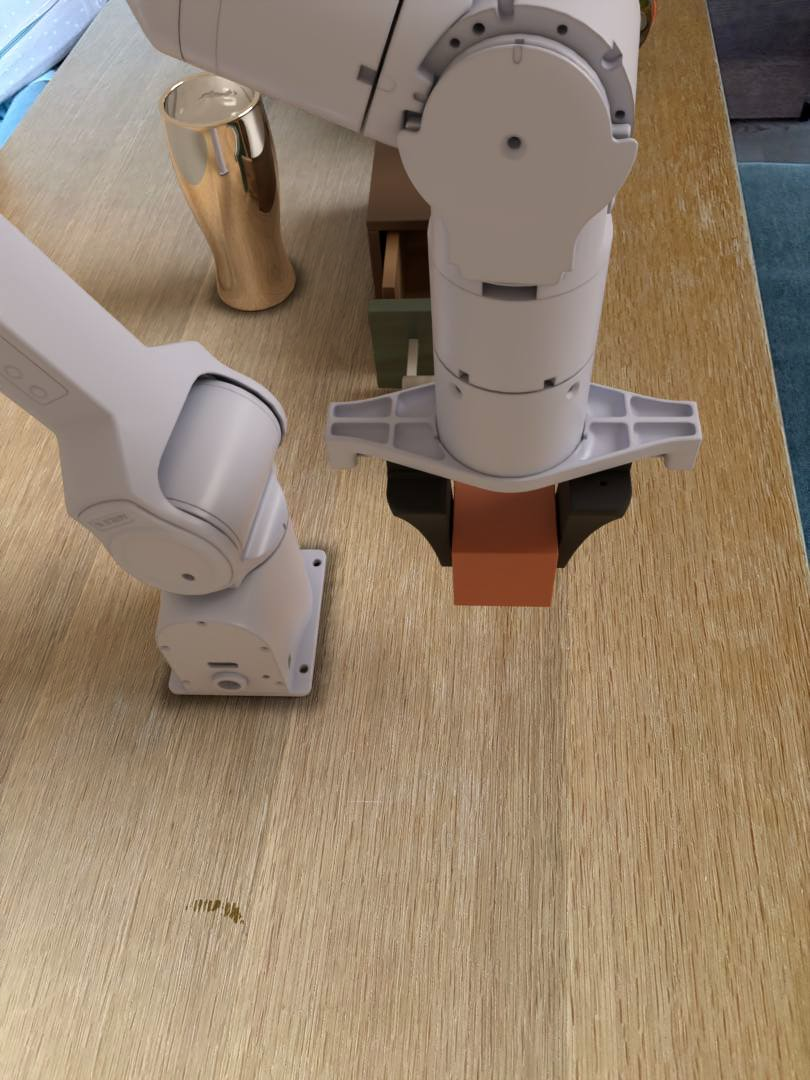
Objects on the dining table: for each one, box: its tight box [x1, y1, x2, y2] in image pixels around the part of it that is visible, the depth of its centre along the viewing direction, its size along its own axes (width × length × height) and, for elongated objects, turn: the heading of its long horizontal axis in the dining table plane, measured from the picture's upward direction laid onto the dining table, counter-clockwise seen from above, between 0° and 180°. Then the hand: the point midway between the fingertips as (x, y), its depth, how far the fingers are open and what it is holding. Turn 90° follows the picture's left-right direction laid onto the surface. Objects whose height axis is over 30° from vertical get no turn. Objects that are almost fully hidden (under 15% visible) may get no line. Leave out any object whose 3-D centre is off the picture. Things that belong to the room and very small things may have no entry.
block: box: [451, 480, 558, 608], centre depth 41 cm, size 5×5×5 cm
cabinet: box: [365, 140, 431, 299], centre depth 66 cm, size 15×13×9 cm
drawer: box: [367, 229, 435, 390], centre depth 60 cm, size 18×11×7 cm, turn 177°
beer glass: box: [157, 71, 297, 312], centre depth 63 cm, size 7×7×15 cm
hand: (503, 550), depth 42 cm, fingers closed on block, 4 cm apart
